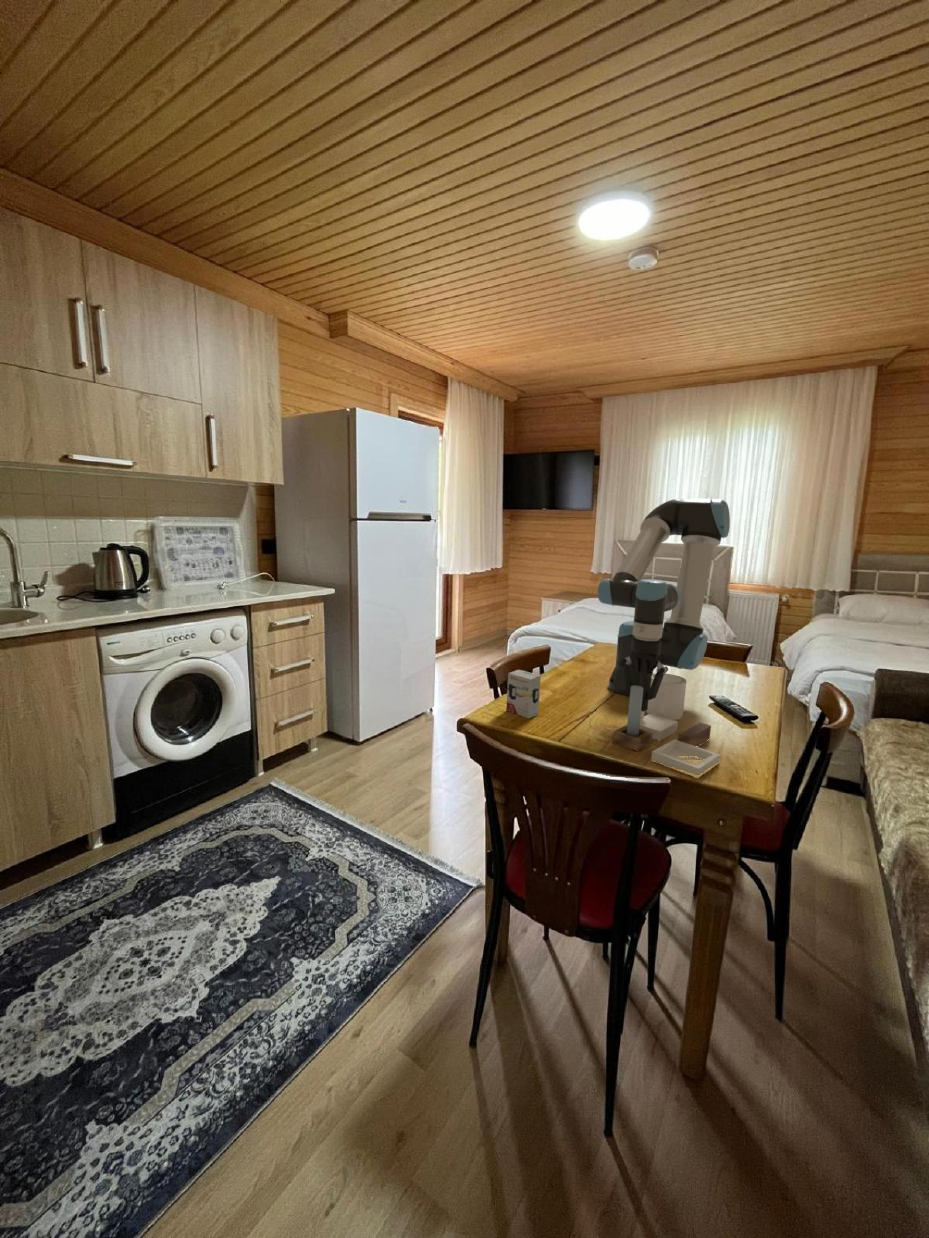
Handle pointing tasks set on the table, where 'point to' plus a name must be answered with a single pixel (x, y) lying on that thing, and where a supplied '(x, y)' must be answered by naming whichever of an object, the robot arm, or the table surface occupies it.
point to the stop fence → (695, 734)
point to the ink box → (523, 693)
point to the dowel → (634, 710)
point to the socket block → (632, 739)
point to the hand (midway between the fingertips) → (638, 720)
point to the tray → (678, 748)
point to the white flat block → (658, 726)
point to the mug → (668, 697)
